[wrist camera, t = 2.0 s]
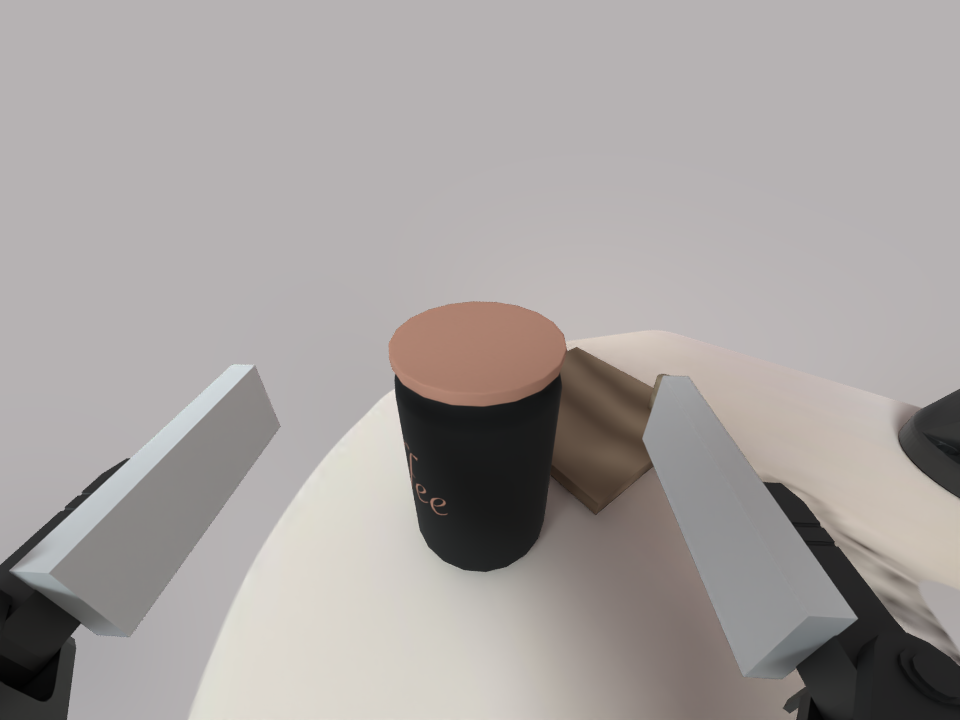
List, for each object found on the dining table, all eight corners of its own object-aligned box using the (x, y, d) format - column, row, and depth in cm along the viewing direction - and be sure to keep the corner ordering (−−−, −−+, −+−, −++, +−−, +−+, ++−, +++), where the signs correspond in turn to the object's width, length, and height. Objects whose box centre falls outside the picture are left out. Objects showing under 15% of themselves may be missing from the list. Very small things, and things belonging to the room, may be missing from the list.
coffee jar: (423, 470, 36) (398, 303, 26) (530, 463, 37) (545, 297, 27) (414, 585, 28) (372, 399, 18) (555, 574, 28) (592, 387, 18)
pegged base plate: (575, 355, 53) (580, 321, 50) (700, 425, 41) (717, 386, 38) (473, 406, 44) (472, 369, 41) (595, 514, 32) (606, 473, 29)
